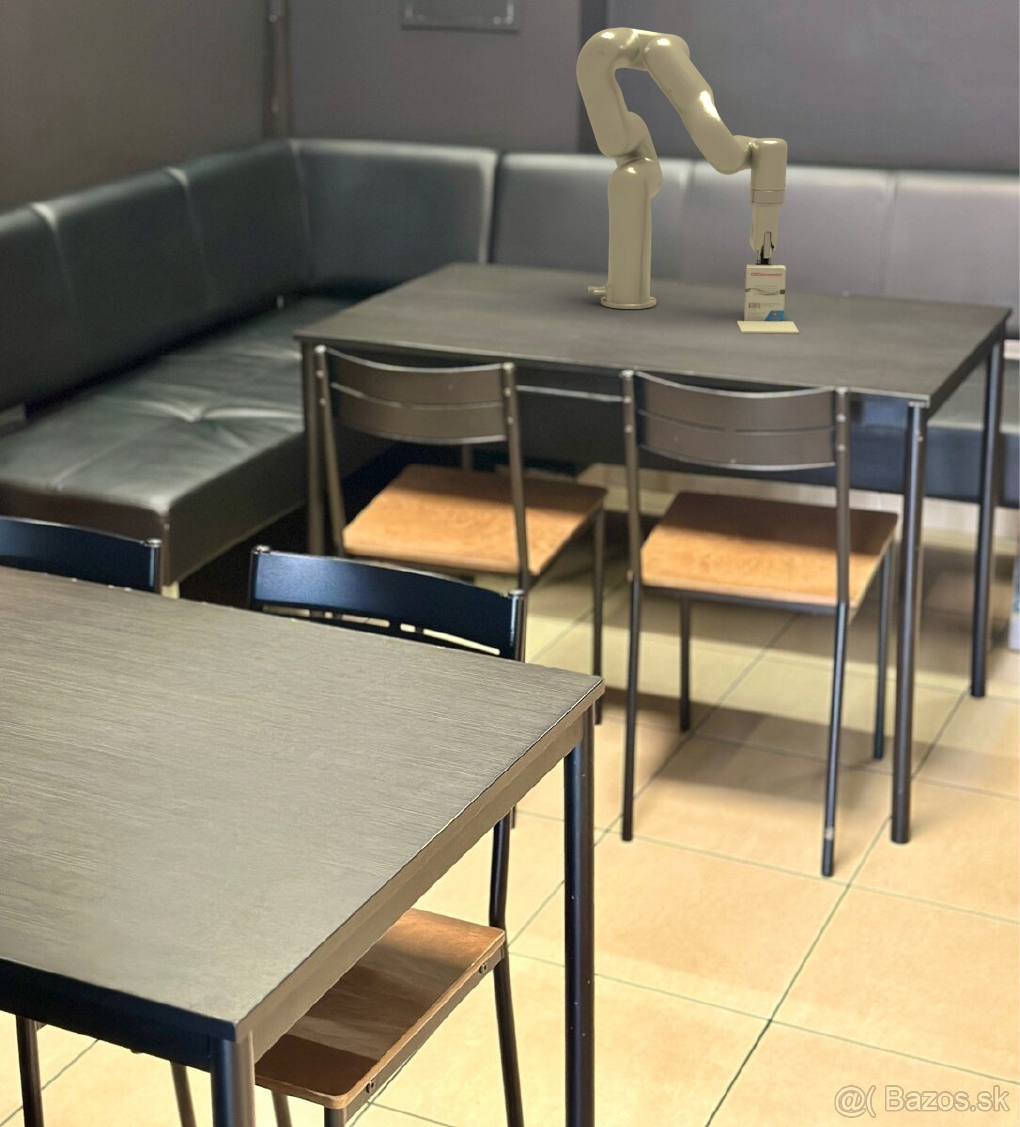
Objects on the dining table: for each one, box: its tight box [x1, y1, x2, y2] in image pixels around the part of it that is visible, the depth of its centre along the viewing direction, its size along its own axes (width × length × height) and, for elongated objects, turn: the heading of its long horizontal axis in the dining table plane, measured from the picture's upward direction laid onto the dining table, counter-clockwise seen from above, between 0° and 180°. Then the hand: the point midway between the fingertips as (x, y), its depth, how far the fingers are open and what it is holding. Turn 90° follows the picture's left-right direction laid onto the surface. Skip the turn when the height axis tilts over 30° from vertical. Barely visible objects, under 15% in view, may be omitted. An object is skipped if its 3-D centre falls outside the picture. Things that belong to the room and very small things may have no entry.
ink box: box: [743, 264, 787, 321], centre depth 345 cm, size 8×5×12 cm, turn 84°
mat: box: [736, 320, 800, 335], centre depth 339 cm, size 12×10×1 cm
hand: (762, 281), depth 350 cm, fingers closed
